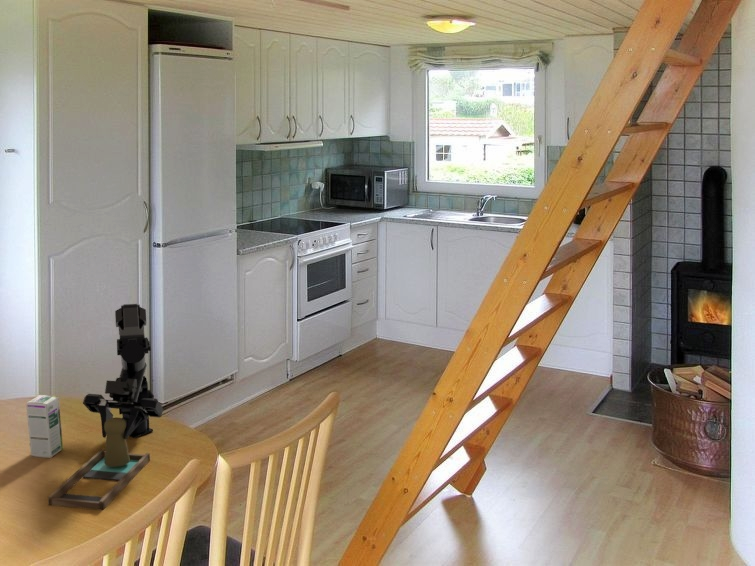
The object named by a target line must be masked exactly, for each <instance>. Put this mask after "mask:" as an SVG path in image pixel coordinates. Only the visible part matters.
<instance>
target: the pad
mask: <svg viewBox="0 0 755 566" xmlns="http://www.w3.org/2000/svg"><path fill="white" fill-rule="evenodd" d="M104 461H105V457H104V458H103V459H102V460H101V461H100V462H98V463H97V464H96V465H95V466H94V467H93V468H92V469H91V471H104V472H116V473H127V472H128V471H129V470H130V469H131V468H132V467H133V466H134V465H135V464H136V463H137V462H138V461H139V460H130V462H129V463H127V464H126V465H123V466H118V467H110V466H107V465H105V463H104Z"/></svg>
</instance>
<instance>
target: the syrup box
mask: <svg viewBox="0 0 755 566" xmlns="http://www.w3.org/2000/svg"><path fill="white" fill-rule="evenodd" d="M25 405H26V416H27V427H28V428H27V429H28V435H29V436H28V437H29V448H30V455H31V457H36V458H37V457H38V458H47V459H48V458H49V459H51V458H53V456H55V455H57V454H58V453H59V452H60V451H62V450H64V445H63V432H62V420H61V412H60V411H61V409H60V397H59V396H56V395H49V394H38V395H37V396H36V397H34V398H32V399H31V400H29V401H27V402H26V404H25Z"/></svg>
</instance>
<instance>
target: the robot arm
mask: <svg viewBox="0 0 755 566" xmlns="http://www.w3.org/2000/svg"><path fill="white" fill-rule="evenodd" d="M146 310H147V309H146V308H143V307H141V306H140V304H139V303H129V304H128V303H126V304H122V305H120V308H118V309H117V310H115V311H114V312H115V314H114V316H115V327H116V328H118V336H119V338H117V339H116V351H117V352H116V355H117V356H120V359H121V361H120V362H121V371H120V373H119V376H118V377H116V379H115V380H106V382H105V390H104V394H107V395H108V396H109V397H110V398H111V399H105V397H104V396H103V395H102V394H95V393H87V394H86V395H85V396H84V397H83V398H84V399H83V401H82V404H83V405H84V406H85V407H86V409H87V410H88V411H89V412H91V413H96V414H100V416H99V417H100V420H101V433H102V438H104V439H105V438H107V433H106V432H105V429H104V424H105V422H106V421H107V420H108V419H110V418H114V414H113V413H112V412H111V411H112V409H116V410H117V409H118V411H119V412H118V414H119V415H122V416H121V418H122V419H124V420H125V422H126V429H125V431H124V439H126V440H127V439H128V438H129V437H130V438H133V439H135V438H139V437H141V436H144V435H147V434H149V433H153V432H154V429H153V428H151V427H150V418H162V416H163V413H164V408H163V406H162V404H161V403H160V402H159V400H158V399H157V398H155V395H154V394H153V392H152V391H151V389H149V384H148V383H149V382H148V380H147V377H146V376H145V372H146V370H147V363H146V355H147V354H149V352H151V351H152V350H151V349H152V348H151V342H150V340H149V338H148V337H147V336H146V337H145V326H147V311H146Z"/></svg>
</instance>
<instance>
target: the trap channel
mask: <svg viewBox="0 0 755 566" xmlns="http://www.w3.org/2000/svg"><path fill="white" fill-rule="evenodd" d="M104 457H105V450H104V449H99V450H98V451H97V453H95V454H94V455H93V456H92V457H91V458H90V459H89V460H88V461H86V462H85V463H84V464H83V465H82V466H81V467H79V468H78V469H77V470H76V471H75V472H74V473H72V475H71V476H70V477H68V478H67V479H66V480H65V481H64V482H63V483H62V484H61V485H59V487H57V488H56V489H55V490H54V491H53V492H52V493H51V494H50V495H48V496H47V501H48V506H55V507H66V508H78V509H89V510H99V511H100V510H101V511H104V510H105V508H106V507H107V506H108V505H110V503H111V502H112V501H113V500H114V499H115V498H116V497H117V496H118V495H119V494H120V493H121V492H122V491H123V489H124V488H126V487H127V485H128V484H130V482H132V480H133V479H134V478H135V477H136V476H137V475H138V474H139V473H140V472H141V471H142V470H143V469H144V468H145V466H146V465H147V464H148V463H149V462H150V461H151V457H150V453H148V452H146V453H145V454H141V453H139V454H138V453H129V458H130V460H139V461H138V462H137V463H136V464H135V465H134V466H133V467H132V468H131V469H130V470H129V471H128V472H127V473H116V472H104V471H91V469H92V468H93V467H94V466H95V465H96V464H97V463H98V462H100V461H101V460H102V459H103V458H104ZM81 479H88V480H89V479H90V480H91V479H92V480H101V481H114V482H117V483H115V484H114V485H113V486H112V488H111V489H109V491H108V492H107V493H106V494H104V495H103V496H96V495H95V496H94V495H83V494H72V493H67V492H68V491H70V489H72V488H73V487H74V486H75V485H76V484H77V483H79V481H80V480H81Z"/></svg>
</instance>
